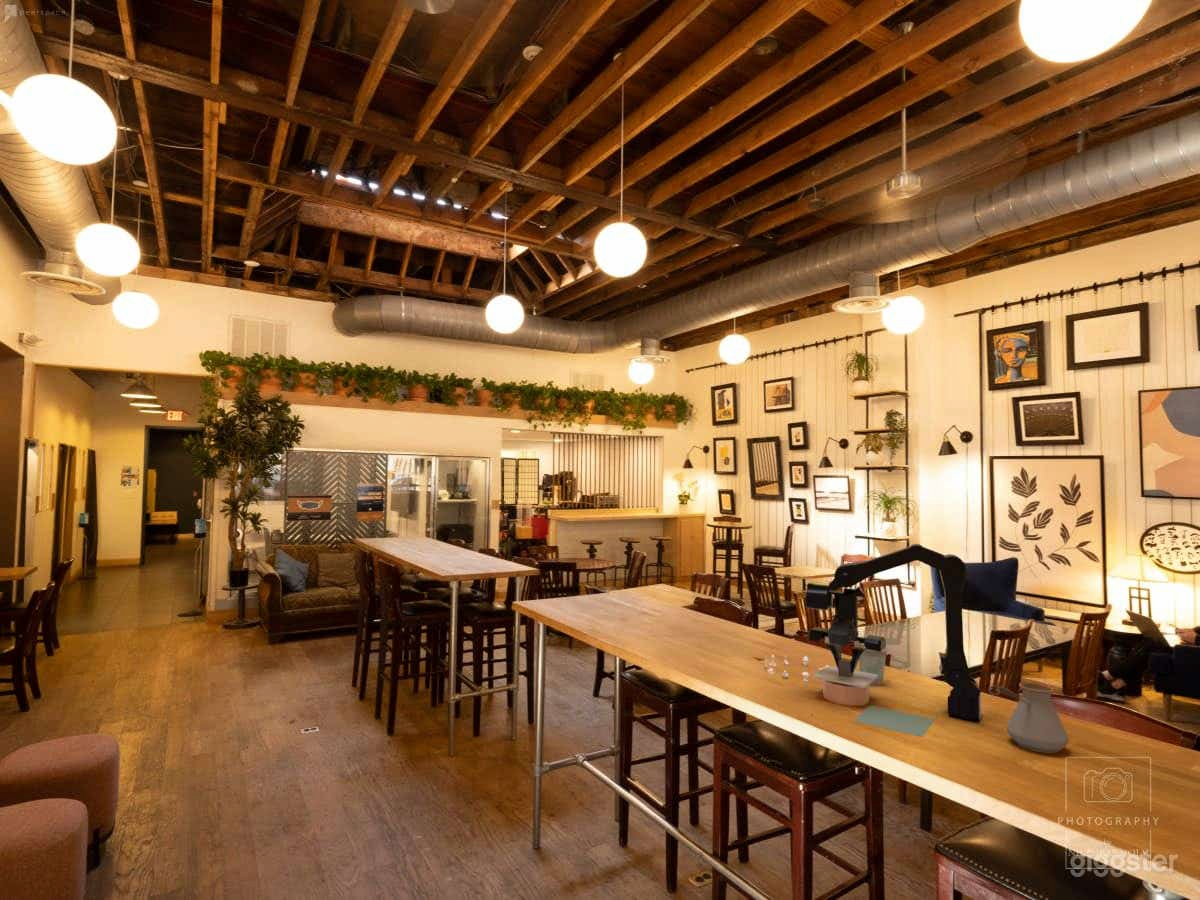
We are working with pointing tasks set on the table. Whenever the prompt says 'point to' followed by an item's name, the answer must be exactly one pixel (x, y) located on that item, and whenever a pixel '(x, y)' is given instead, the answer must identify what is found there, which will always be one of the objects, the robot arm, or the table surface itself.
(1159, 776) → the table surface
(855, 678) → the lid
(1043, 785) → the table surface
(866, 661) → the coffee cup
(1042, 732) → the coffee pot
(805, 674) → the game piece set
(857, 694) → the pink round tub
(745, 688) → the table surface
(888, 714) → the mat
